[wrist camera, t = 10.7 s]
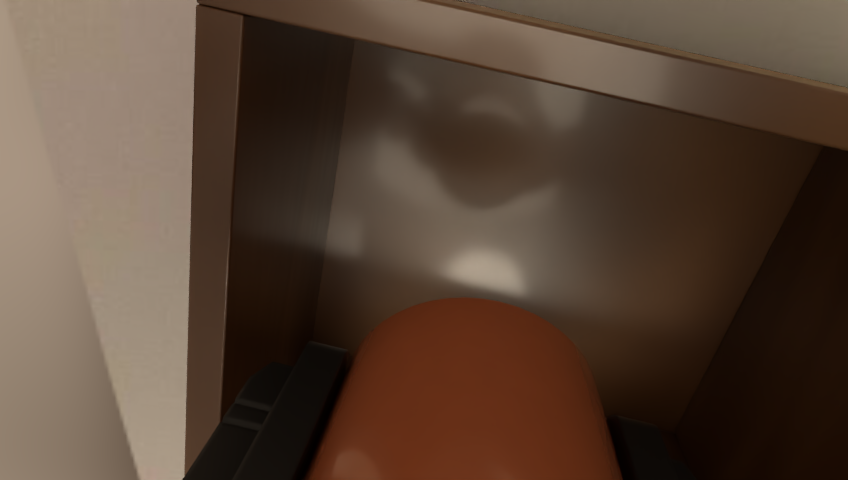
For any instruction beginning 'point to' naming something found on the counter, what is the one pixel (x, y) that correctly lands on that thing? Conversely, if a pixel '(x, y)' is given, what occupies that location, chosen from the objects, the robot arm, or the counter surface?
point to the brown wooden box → (526, 213)
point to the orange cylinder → (466, 401)
